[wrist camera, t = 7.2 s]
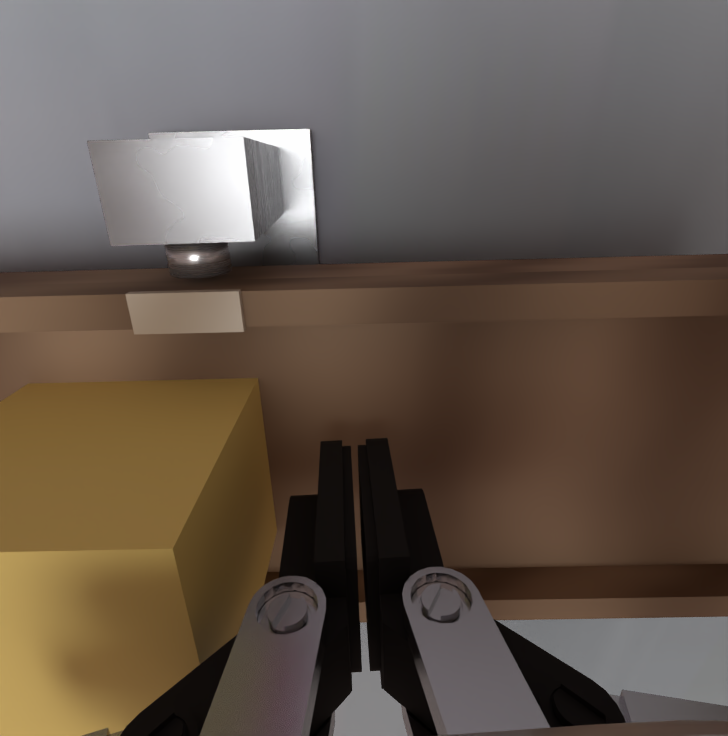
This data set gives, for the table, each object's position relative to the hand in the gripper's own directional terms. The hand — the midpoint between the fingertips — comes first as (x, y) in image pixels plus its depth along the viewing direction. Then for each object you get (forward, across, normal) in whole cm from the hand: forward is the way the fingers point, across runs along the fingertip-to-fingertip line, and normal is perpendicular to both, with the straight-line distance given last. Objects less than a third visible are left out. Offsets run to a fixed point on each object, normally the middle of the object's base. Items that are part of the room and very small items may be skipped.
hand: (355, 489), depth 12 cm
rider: (+2, +5, 0) cm, 6 cm away
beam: (+3, +3, 0) cm, 5 cm away
